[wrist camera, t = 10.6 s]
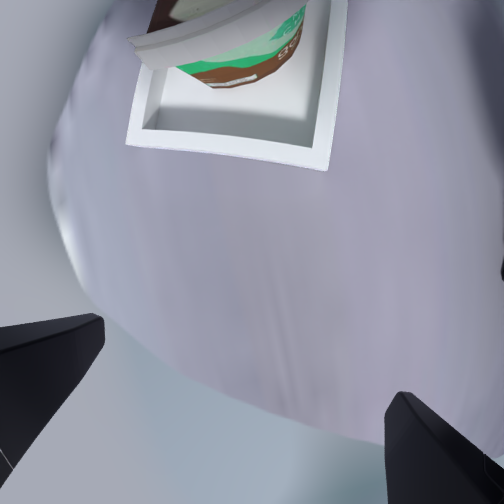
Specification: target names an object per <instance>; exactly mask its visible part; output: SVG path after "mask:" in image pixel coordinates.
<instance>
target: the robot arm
mask: <svg viewBox="0 0 504 504" xmlns="http://www.w3.org/2000/svg"><path fill="white" fill-rule="evenodd" d="M502 280H503V281H504V271H503V274H502ZM104 343H105V327H104V319H103V318H102V317H101V316H99V315H96V314H93V313H89V314H83V315H77V316H71V317H65V318H59V319H52V320H46V321H39V322H33V323H26V324H20V325H13V326H6V327H0V488H1V487H2V485H3V484H4V482H5V481H6V480H7V478H8V477H9V475H10V474H11V472H12V471H13V469H14V468H15V466H16V465H17V463H18V462H19V461H20V460H21V458H22V457H23V455H24V454H25V453H26V451H27V450H28V449H29V447H30V446H31V444H32V443H33V442H34V440H35V439H36V438H37V436H38V435H39V434H40V432H41V431H42V430H43V429H44V427H45V426H46V425H47V423H48V422H49V421H50V419H51V418H52V417H53V416H54V414H55V413H56V412H57V410H58V409H59V408H60V406H61V405H62V404H63V403H64V401H65V400H66V399H67V398H68V396H69V395H70V394H71V393H72V391H73V390H74V389H75V388H76V387H77V385H78V384H79V383H80V381H81V380H82V378H83V377H84V375H85V374H86V372H87V371H88V369H89V368H90V366H91V365H92V363H93V362H94V360H95V358H96V357H97V355H98V354H99V352H100V351H101V349H102V348H103V346H104ZM384 423H385V469H386V480H387V495H388V504H504V469H503V468H502V467H501V466H499V465H498V464H497V463H495V462H494V461H493V460H492V459H491V458H489V457H488V456H487V455H486V454H483V452H482V451H481V450H480V449H478V448H477V447H476V446H475V445H474V444H472V443H471V442H470V441H469V440H468V439H466V438H465V437H464V436H463V435H461V434H460V433H459V432H458V431H457V430H455V429H454V428H453V427H452V426H451V425H449V424H448V423H447V422H446V421H445V420H443V419H442V418H441V417H440V416H439V415H437V414H436V413H435V412H434V411H433V410H432V409H430V408H429V407H428V406H427V405H426V404H424V403H423V402H422V401H421V400H420V399H418V398H417V397H416V396H415V395H414V394H412V393H411V392H403V391H400V392H398V393H397V394H396V395H395V397H394V399H393V400H392V402H391V404H390V405H389V407H388V409H387V410H386V413H385V417H384Z"/></svg>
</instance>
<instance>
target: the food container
mask: <svg viewBox="0 0 504 504" xmlns="http://www.w3.org/2000/svg"><path fill="white" fill-rule="evenodd" d="M308 1H309V0H158V1H157V4H156V7H155V10H154V13H153V16H152V19H151V22H150V25H149V28H148V31H147V34H143V35H138V36H134V37H129V38H127V40H128V41H129V42H130V43H132V44H133V45H134V46H135V47H136V48H135V51H134V53H135V54H136V55H137V56H138V57H139V58H140V59H141V60H142V62H143V63H144V64H145V65H146V66H147V67H148V69H149V70H155V69H163V68H171V67H176V68H178V69H180V70H182V71H184V72H185V73H187V74H189V75H191V76H192V77H194V78H196V79H197V80H199V81H201V82H202V83H204V84H206V85H207V86H209V87H211V88H212V89H219V88H234V87H238V86H242V85H246V84H251V83H255V82H257V81H259V80H260V79H262V78H264V77H266V76H268V75H270V74H272V73H274V72H276V71H277V70H278V69H279V68H280V67H281V66H282V65H283V64H284V63H285V62H287V61H288V60H289V59H290V58H291V57H292V55H293V54H294V52H295V50H296V48H297V46H298V44H299V42H300V38H301V34H302V28H303V22H304V16H305V10H306V4H307V2H308Z"/></svg>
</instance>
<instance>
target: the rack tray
mask: <svg viewBox="0 0 504 504" xmlns="http://www.w3.org/2000/svg"><path fill="white" fill-rule="evenodd" d="M347 8H348V0H309V1H308V2H307V4H306V10H305V16H304V22H303V28H302V34H301V38H300V42H299V44H298V46H297V48H296V50H295V52H294V54H293V55H292V57H291V58H290V59H289V60H288V61H287V62H285V63H284V64H283V65H282V66H281V67H280V68H279V69H278V70H277V71H276V72H274V73H272V74H270V75H268V76H266V77H264V78H262V79H260V80H259V81H257V82H255V83H251V84H246V85H242V86H238V87H234V88H219V89H212V88H211V87H209V86H207V85H206V84H204V83H202V82H201V81H199V80H197V79H196V78H194V77H192V76H191V75H189V74H187V73H185V72H184V71H182V70H180V69H178V68H176V67H171V68H163V69H155V70H149V69H148V67H147V66H146V65H145V64H144V63H143V62H142V64H141V68H140V73H139V77H138V81H137V86H136V90H135V95H134V100H133V105H132V110H131V115H130V120H129V126H128V132H127V138H126V145H131V146H138V147H144V148H157V149H170V150H181V151H192V152H201V153H210V154H218V155H226V156H234V157H241V158H248V159H255V160H262V161H268V162H274V163H280V164H286V165H292V166H297V167H302V168H308V169H313V170H318V171H323V172H324V171H327V170H328V165H329V159H330V153H331V146H332V140H333V133H334V127H335V120H336V112H337V105H338V98H339V90H340V81H341V73H342V64H343V54H344V44H345V33H346V21H347Z"/></svg>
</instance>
